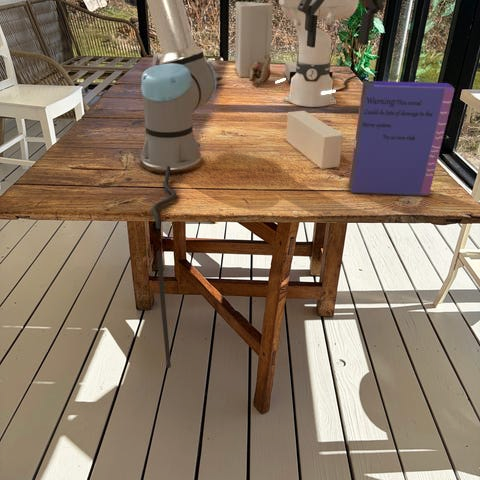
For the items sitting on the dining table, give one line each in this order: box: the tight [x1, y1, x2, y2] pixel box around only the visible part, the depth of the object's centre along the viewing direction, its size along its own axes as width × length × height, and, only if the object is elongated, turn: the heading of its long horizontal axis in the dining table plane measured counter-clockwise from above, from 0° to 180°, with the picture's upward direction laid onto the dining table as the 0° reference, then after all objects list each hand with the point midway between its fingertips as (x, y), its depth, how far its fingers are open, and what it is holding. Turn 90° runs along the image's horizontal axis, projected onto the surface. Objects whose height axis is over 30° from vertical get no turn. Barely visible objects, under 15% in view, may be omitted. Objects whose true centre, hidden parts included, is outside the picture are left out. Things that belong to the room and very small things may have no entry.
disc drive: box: [284, 61, 333, 85], centre depth 207 cm, size 18×22×5 cm
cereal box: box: [348, 80, 455, 197], centre depth 104 cm, size 17×5×24 cm, turn 86°
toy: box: [152, 51, 219, 68], centre depth 222 cm, size 24×25×7 cm
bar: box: [285, 110, 344, 170], centre depth 129 cm, size 22×5×8 cm, turn 19°
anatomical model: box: [249, 55, 272, 87], centre depth 197 cm, size 13×9×15 cm
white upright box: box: [234, 1, 274, 78], centre depth 210 cm, size 19×15×28 cm
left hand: (337, 45), depth 110 cm, fingers open, 13 cm apart
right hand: (312, 25), depth 136 cm, fingers open, 8 cm apart
